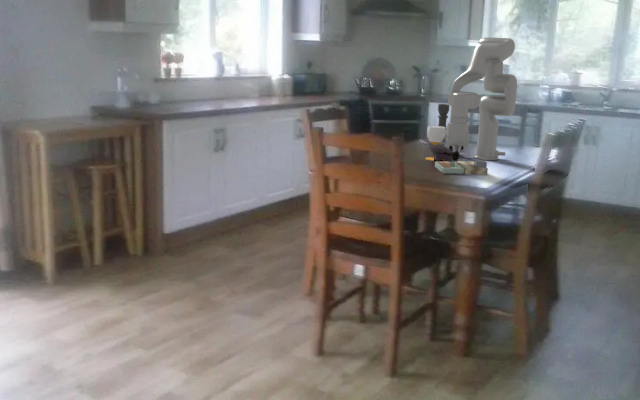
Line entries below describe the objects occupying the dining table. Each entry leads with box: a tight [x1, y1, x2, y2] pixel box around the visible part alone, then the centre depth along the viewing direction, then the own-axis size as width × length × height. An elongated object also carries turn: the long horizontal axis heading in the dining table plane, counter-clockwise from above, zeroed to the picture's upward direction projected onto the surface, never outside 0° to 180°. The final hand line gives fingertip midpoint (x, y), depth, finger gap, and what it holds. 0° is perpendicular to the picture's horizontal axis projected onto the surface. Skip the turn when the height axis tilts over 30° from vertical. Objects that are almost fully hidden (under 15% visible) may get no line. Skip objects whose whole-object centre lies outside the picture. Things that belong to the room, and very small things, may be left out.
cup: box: [424, 125, 447, 162], centre depth 330 cm, size 9×9×16 cm
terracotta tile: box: [437, 160, 451, 168], centre depth 309 cm, size 4×4×2 cm
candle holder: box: [437, 103, 450, 142], centre depth 352 cm, size 6×6×25 cm
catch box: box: [434, 161, 465, 175], centre depth 305 cm, size 10×16×2 cm, turn 3°
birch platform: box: [455, 160, 488, 176], centre depth 305 cm, size 10×16×3 cm, turn 3°
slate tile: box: [473, 159, 488, 168], centre depth 300 cm, size 4×4×2 cm
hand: (454, 160), depth 309 cm, fingers closed
